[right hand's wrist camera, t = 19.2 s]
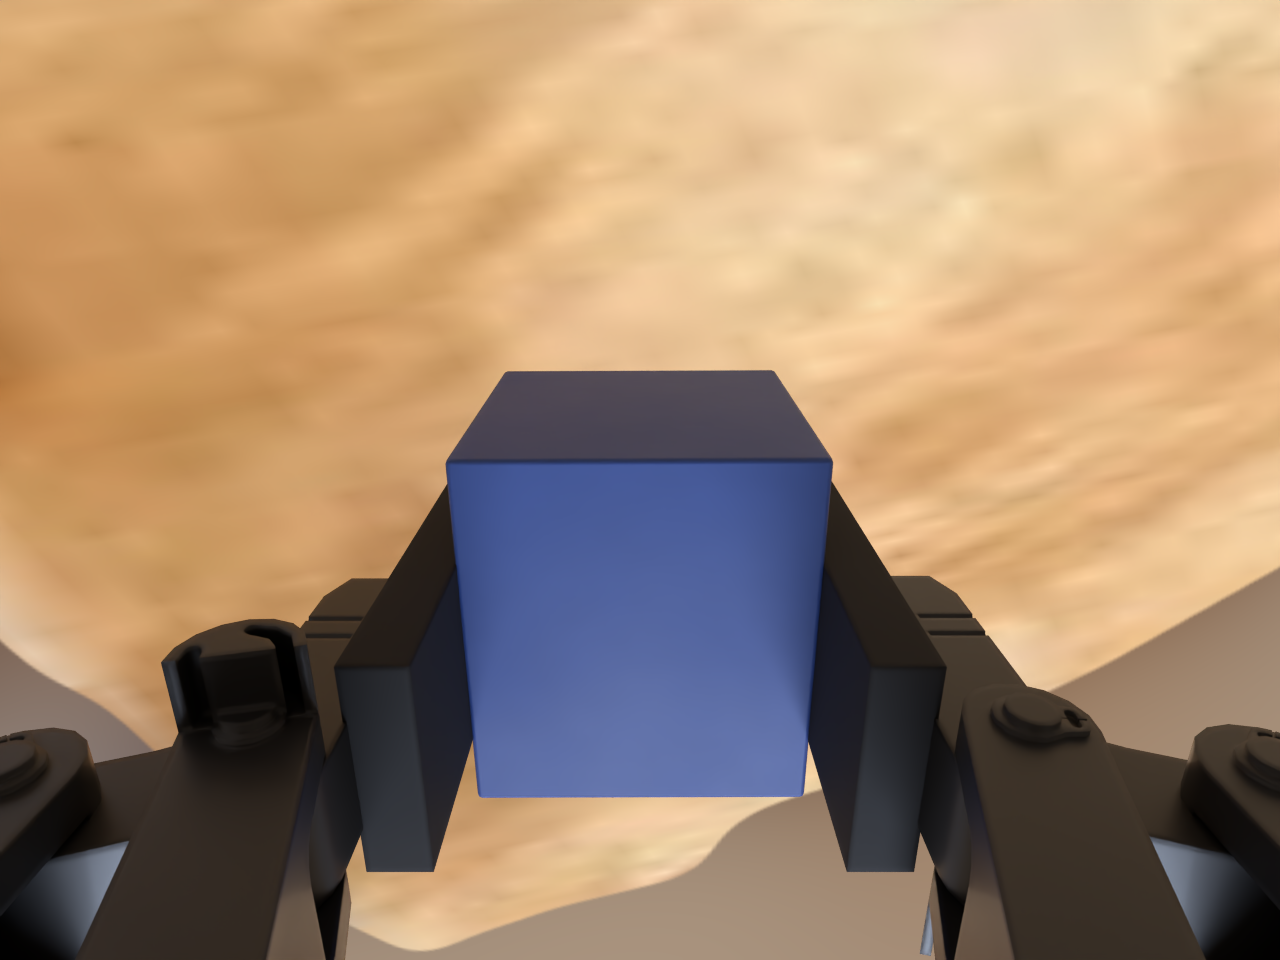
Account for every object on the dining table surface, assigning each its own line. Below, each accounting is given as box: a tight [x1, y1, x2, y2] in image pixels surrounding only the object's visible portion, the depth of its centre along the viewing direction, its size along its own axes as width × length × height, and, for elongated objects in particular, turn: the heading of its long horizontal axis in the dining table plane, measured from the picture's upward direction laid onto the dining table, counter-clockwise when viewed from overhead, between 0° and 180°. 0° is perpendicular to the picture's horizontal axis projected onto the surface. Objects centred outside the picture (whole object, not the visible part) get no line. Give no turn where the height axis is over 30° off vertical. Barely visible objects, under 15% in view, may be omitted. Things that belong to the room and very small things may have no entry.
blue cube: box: [446, 370, 833, 798], centre depth 13 cm, size 5×5×5 cm
